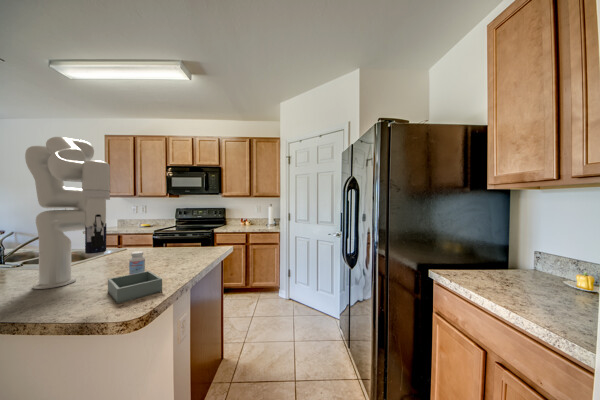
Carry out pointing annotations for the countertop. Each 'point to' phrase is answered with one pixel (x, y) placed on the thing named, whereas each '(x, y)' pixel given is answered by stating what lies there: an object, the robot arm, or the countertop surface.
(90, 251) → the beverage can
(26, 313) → the countertop surface
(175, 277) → the countertop surface
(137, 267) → the pill bottle
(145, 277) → the box
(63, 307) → the countertop surface
